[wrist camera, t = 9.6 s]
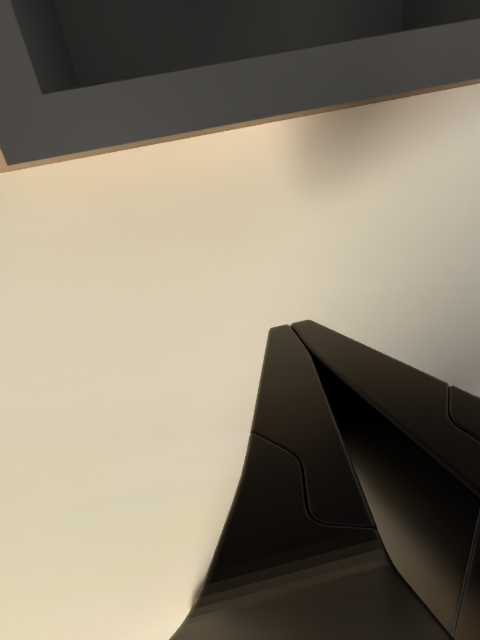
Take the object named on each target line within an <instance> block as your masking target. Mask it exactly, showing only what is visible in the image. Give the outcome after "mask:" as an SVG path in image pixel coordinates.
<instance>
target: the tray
mask: <svg viewBox="0 0 480 640" xmlns="http://www.w3.org/2000/svg"><path fill="white" fill-rule="evenodd" d="M479 78H480V0H0V149H1V151H2V153H3V156H4V158H5V161H6V163H7V166H9V165H15V164H20V163H25V162H31V161H36V160H42V159H47V158H52V157H58V156H63V155H69V154H74V153H79V152H85V151H90V150H96V149H101V148H106V147H112V146H117V145H123V144H128V143H133V142H139V141H144V140H150V139H155V138H160V137H166V136H171V135H177V134H182V133H187V132H193V131H198V130H204V129H209V128H214V127H220V126H225V125H231V124H236V123H241V122H247V121H252V120H258V119H263V118H268V117H274V116H279V115H285V114H290V113H295V112H301V111H306V110H312V109H317V108H322V107H328V106H333V105H339V104H344V103H349V102H355V101H360V100H366V99H371V98H376V97H382V96H387V95H393V94H398V93H403V92H409V91H414V90H420V89H425V88H430V87H436V86H441V85H447V84H452V83H457V82H463V81H468V80H474V79H479Z"/></svg>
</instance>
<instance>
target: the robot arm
mask: <svg viewBox="0 0 480 640" xmlns="http://www.w3.org/2000/svg"><path fill="white" fill-rule="evenodd" d="M250 434H251V435H250V436H249V442H248V447H247V452H246V457H245V461H244V465H243V470H242V474H241V477H240V480H239V484H238V487H237V490H236V493H235V496H234V499H233V502H232V505H231V508H230V511H229V514H228V516H227V519H226V522H225V525H224V527H223V530H222V533H221V536H220V539H219V541H218V544H217V547H216V550H215V552H214V555H213V558H212V561H211V563H210V566H209V569H208V572H207V574H206V577H205V580H204V582H203V585H202V587H201V590H200V592H199V594H198V596H197V599H196V601H195V603H194V605H193V607H192V609H191V610H190V612H189V614H188V615H187V617H186V619H185V620H184V622H183V623H182V624H181V626H180V627H179V628H178V630H177V631H176V632H175V633H174V635H173V636H172V637H171V638H170V639H169V640H480V398H479V397H477V396H475V395H472V394H470V393H468V392H466V391H464V390H461V389H459V388H457V387H455V386H450V387H449V384H448V383H446V382H444V381H442V380H439V379H437V378H435V377H433V376H431V375H429V374H426V373H424V372H422V371H420V370H418V369H416V368H413V367H411V366H409V365H407V364H405V363H403V362H400V361H398V360H396V359H394V358H392V357H390V356H388V355H385V354H383V353H381V352H379V351H377V350H375V349H372V348H370V347H368V346H366V345H364V344H362V343H359V342H357V341H355V340H353V339H351V338H349V337H346V336H344V335H342V334H340V333H338V332H336V331H333V330H331V329H329V328H327V327H325V326H323V325H320V324H318V323H316V322H314V321H312V320H304V321H300V322H295V323H292V324H291V325H290V326H289V325H282V326H277V327H273V328H271V329H270V330H269V333H268V339H267V344H266V350H265V355H264V361H263V366H262V372H261V377H260V383H259V388H258V394H257V399H256V405H255V410H254V416H253V421H252V427H251V433H250Z"/></svg>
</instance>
